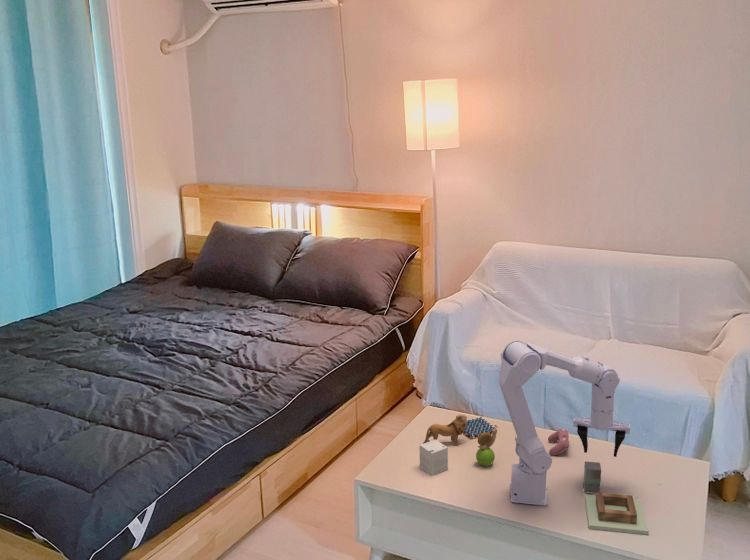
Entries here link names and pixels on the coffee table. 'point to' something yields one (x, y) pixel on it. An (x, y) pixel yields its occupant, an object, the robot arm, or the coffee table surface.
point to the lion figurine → (448, 429)
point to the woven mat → (477, 428)
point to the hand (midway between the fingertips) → (600, 453)
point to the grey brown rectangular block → (592, 477)
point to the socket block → (615, 513)
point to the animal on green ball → (486, 448)
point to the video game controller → (559, 441)
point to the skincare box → (433, 457)
